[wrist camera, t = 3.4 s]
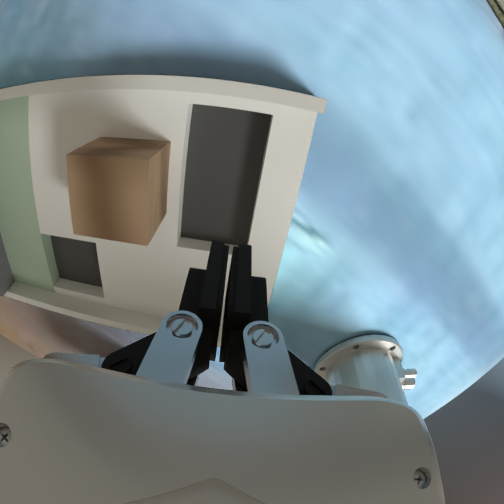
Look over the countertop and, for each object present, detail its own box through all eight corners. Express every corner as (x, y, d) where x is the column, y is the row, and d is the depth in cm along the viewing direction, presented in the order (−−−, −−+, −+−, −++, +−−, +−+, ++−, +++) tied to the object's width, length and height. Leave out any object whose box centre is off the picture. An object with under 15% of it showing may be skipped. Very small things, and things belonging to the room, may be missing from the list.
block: (170, 141, 20) (148, 159, 16) (166, 213, 24) (147, 246, 19) (100, 136, 20) (66, 154, 16) (101, 205, 23) (73, 234, 19)
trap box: (315, 96, 20) (330, 100, 16) (259, 324, 33) (259, 359, 29) (-9, 90, 18) (-41, 100, 14) (19, 276, 31) (0, 300, 26)
